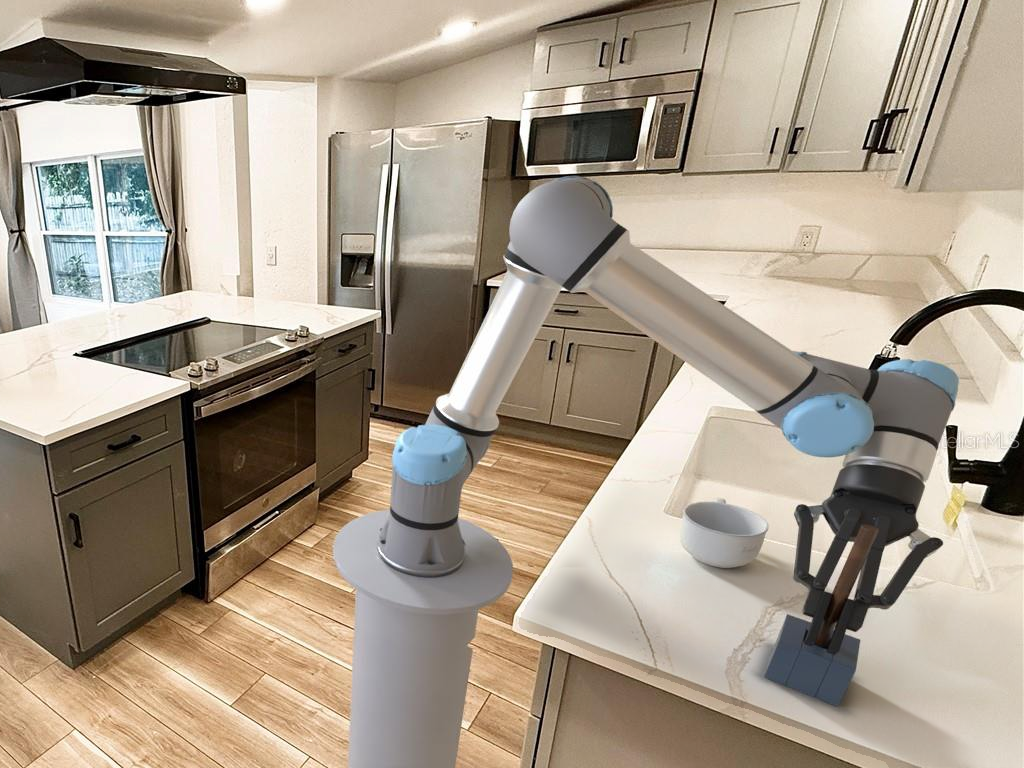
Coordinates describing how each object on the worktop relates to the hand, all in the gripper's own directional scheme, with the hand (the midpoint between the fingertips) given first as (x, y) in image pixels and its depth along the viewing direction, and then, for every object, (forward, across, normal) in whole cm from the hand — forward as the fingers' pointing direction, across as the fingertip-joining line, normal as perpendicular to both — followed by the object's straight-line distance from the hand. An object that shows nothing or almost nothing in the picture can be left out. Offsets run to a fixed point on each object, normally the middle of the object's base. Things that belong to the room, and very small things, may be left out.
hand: (820, 647), depth 73 cm
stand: (+3, 0, -8) cm, 8 cm away
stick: (-1, 0, -4) cm, 5 cm away
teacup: (-15, +14, -26) cm, 33 cm away
